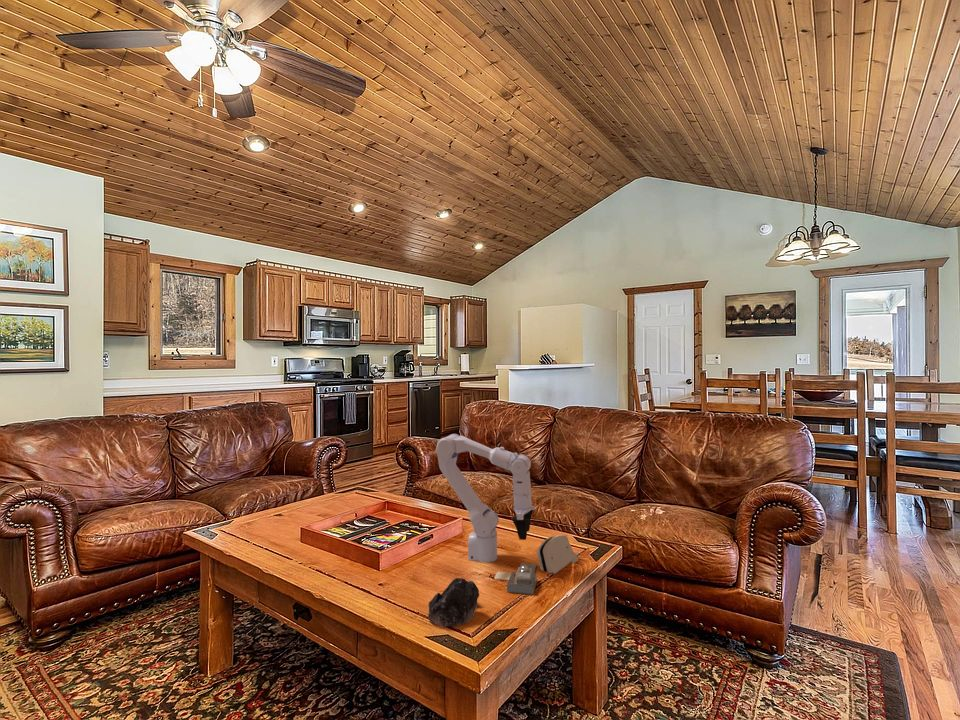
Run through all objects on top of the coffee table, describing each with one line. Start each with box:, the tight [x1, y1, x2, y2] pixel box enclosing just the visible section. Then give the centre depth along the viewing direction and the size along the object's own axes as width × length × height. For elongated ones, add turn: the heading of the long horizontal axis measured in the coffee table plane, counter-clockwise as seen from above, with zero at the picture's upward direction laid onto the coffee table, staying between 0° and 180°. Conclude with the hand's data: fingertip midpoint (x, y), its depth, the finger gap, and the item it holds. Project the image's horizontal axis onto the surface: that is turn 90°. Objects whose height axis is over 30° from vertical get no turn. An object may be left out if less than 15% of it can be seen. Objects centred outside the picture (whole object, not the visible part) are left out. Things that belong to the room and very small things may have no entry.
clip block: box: [515, 565, 532, 586], centre depth 143 cm, size 4×4×5 cm
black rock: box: [427, 577, 480, 628], centre depth 130 cm, size 13×14×10 cm
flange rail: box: [506, 562, 538, 596], centre depth 148 cm, size 8×19×3 cm, turn 167°
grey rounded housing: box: [536, 534, 579, 575], centre depth 160 cm, size 17×5×10 cm, turn 143°
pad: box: [493, 571, 512, 581], centre depth 150 cm, size 5×5×1 cm
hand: (524, 535), depth 160 cm, fingers open, 7 cm apart
